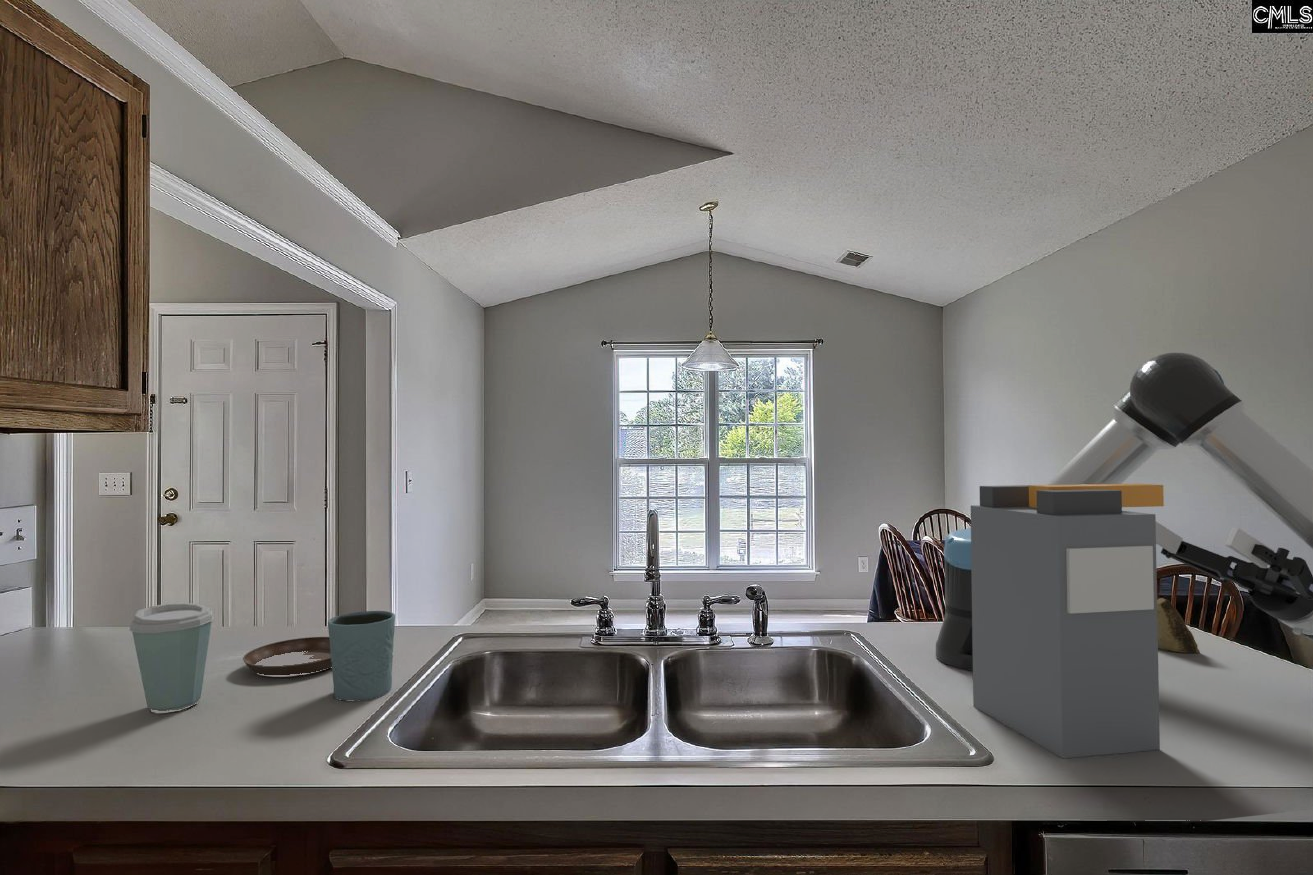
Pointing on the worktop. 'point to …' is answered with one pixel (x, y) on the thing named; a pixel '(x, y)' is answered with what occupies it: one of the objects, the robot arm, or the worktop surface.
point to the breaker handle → (1130, 492)
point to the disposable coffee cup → (172, 653)
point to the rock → (1173, 629)
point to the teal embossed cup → (362, 654)
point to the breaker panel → (1066, 619)
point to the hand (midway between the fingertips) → (1185, 530)
